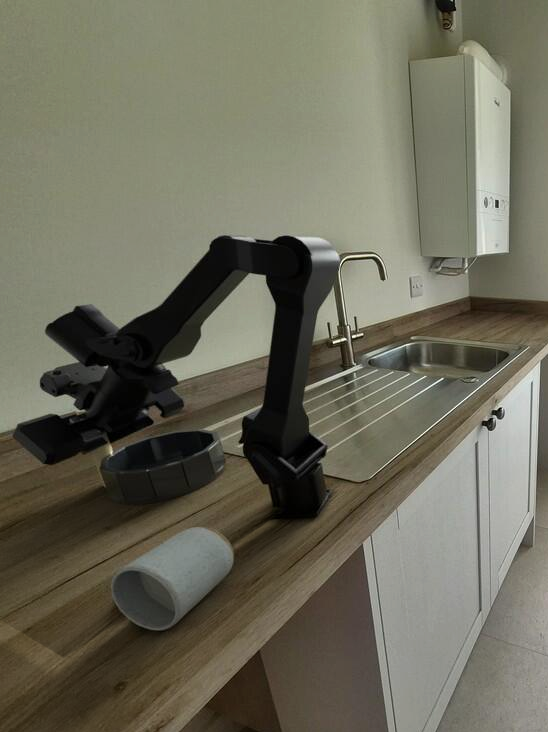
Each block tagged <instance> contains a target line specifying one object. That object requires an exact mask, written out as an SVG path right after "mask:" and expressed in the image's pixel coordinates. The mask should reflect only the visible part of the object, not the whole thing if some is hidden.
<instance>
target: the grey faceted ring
mask: <svg viewBox="0 0 548 732" xmlns="http://www.w3.org/2000/svg"><path fill="white" fill-rule="evenodd" d="M83 413H86V411H85V410H81V411H80V410H78V409H76V410H75V414H77V415H80V414H83ZM219 435H220V434H219V433H218V432H217V431H213V430H208V429H203V428H202V429H201V428H197V429H183V430H175V431H170V432H165V433H161V434H155V435H151V436H148V437H145V438H142V439H140V440H136V441H133V442H131V443H129V444H125V445H123V446H120V447H118V448H117V449H115V450H114V449H113V447H112V443H110V440H109V438H108V435H107V432H106V430H105V434H104V435H103V436H102V437H103V438H104V439H105V440H106V441H107V442H108V443H107V444H105V445H104V446H101V447H100V448H98V449H96V450H94V451H92V452H90V455H91V457H92V460H93V462H94V465H95V467H96V470H97V473H98V476H99V479H100V481H101V483H102V486H103V487H104V488H105V489H106V491H107V494H108V496H110V497H111V499H112V500H113V501H114V502H115V503H118V504H121V505H129V506H138V505H139V506H140V505H149V504H154V503H159V502H164V501H169V500H171V499H175V498H178V497H183V496H185V495H187V494H190V493H192V492H194V491H197V490H199V489H201V488H204V487H205V486H207V485H209V484H210V483H212V482H213V481H215V480H217V478H219V477H220V476H221V475H222V474H223V473H224V472H225V470H226V469H227V460H226V455H225V452H224V449H223V446H222V441H221V438H220V436H219Z"/></svg>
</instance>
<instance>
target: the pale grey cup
mask: <svg viewBox="0 0 548 732" xmlns="http://www.w3.org/2000/svg"><path fill="white" fill-rule="evenodd" d="M233 549H234V548H233V546H232V544H231V543H230V541H229V540H228V538H227V537H226V536H224V534H222V533H221V532H219V531H218V530H216V529H215V528H211V527H209V526H204V525H198V526H193V527H190V528H187V529H184V530H183V531H180V532H178V533H176V534H175V535H173V536H171V537H170V538H168V539H167V540H166V541H164V542H162V543H161V544H159V545H158V546H157V545H156V547H154V548H152V549H151V550H149V551H148V552H146V553H144V554H142V555H141V556H139V557H138V558H136V559H134V560H133V561H131V562H129V563H128V564H126V565H125V566H123V567H121V568H120V569H118V571H117V572H116V573H115V574H114V575H113V576H112V578H111V581H110V593H111V598H112V599H113V602H114V603H115V605H116V606H117V608H118V610H119V611H120V612H121V613H122V614H123V615H124V616H125V617H126V618H127V619H128V620H129V621H130V622H132V623H134V624H135V625H137V626H139V627H141V628H144V629H147V630H150V631H160V632H161V631H165V630H168V629H171V628H172V627H173V626H175V625H176V624H177V623H178V622H179V621H181V620H182V618H183V617H184V616H186V614H188V613H189V612H190V611H191V610H192V609H193V608H194V607H195V606H196V605H197V604H199V602H201V600H203V598H204V597H206V596H207V595H208V594H209V593H210V592H211V591H212V590H213V589H215V588H216V586H218V585H219V584H220V583H221V582H222V581H223V580H224V579H225V578H226V576H227V575H228V574H229V573H230V571H231V569H232V567H233V566H234V563H235V552H234V550H233Z"/></svg>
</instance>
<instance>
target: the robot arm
mask: <svg viewBox="0 0 548 732" xmlns="http://www.w3.org/2000/svg"><path fill="white" fill-rule="evenodd" d="M208 248H209V249H208V250H207V251H206V252H205V253H204V255H203V256H202V257H201V258H200V259H199V261H197V263H196V264H195V265H194V266H193V267H192V269H190V271H189V272H188V273H187V274H185V276H184V277H183V279H182V280H181V281H180V282H179V283H178V284H177V285H176V287H175V288H174V289H173V290H172V291H171V292H170V293H169V294H168V296H167V297H166V298H165V299H164V300H163V301H162V302H161V304H159V305H158V306H157V307H155V308H153V309H151V310H149V311H147V312H144V313H143V314H140V315H138V316H136V317H135V318H133V319H131V320H129V322H127V323H126V324H124V325H123V326H122V327H120V328H119V327H118V326H117V325H116V324H115V323H114V322H113V321H111V320H110V319H109V318H108V317H106V315H104V314H103V313H102V311H101V310H100V309H99V308H97V307H96V306H95V305H94V304H89V303H88V304H82V305H75V307H74V308H73V310H72V311H70V312H69V311H68V312H67V313H64V314H63V315H61V316H59V317H58V318H56V319H55V320H53V321H52V322H49V323H48V324H47V325H46V326H45V329H44V334H45V335H46V336H47V337H48V338H49V339H51V341H53V342H54V343H56V344H57V345H58V346H59V347H60V348H62V349H63V351H65V352H66V353H68V354H69V355H70V356H72V357H73V358H74V359H75V360H76V361H77V362H74V363H69V364H65V365H60V366H57V367H55V368H54V369H52V370H47V371H45V372H43V374H42V375H41V377H40V378H39V387H40V389H41V391H43V392H44V393H46V394H48V395H50V396H52V397H54V398H57V397H58V398H59V397H62V396H64V395H66V396H69V397H71V398H72V399H74V402H73V407H75V408H76V410H80V411H81V410H85V411H86V413H83V414H80V415H77V414H76V413H74V414H71V415H67V416H65V417H61V416H60V415H58V414H57V413H56V414H55V413H48V414H44V415H42V416H39V417H35V418H32V419H29V420H25V421H23V422H20V423H17V425H16V427H15V430H14V431H13V434H12V435H11V437H12V439H14V440H15V442H17V443H19V445H20V446H22V447H23V448H24V449H25V450H26V451H28V452H29V454H31V455H32V456H33V457H35V458H36V459H37V461H39V462H40V463H41V464H43V465H47V466H53V465H56V464H59V463H61V462H63V461H64V462H65V461H66V460H69V459H71V458H73V457H76V456H78V455H79V454H82V455H83V456H86V455H88V454H91V452H92V451H94V450H96V449H98V448H100V447H101V446H104V445H105V444H107V443H108V442H107V441H106V440H105V439H104V438H103V437H102V436H103V435H104V434H105V430H106V432H107V435H108V438H109V440H110V443H111V444H113V443H116V442H118V441H120V440H122V439H125V438H126V437H128V436H131V435H133V434H135V433H138V432H140V431H142V430H144V429H146V428H149V427H151V426H153V425H154V424H155V421H154V419H153V418H151V416H149V415H150V412H149V411H150V408H152V407H154V406H155V407H156V408H157V409H158V410H159V411H160V414H159V416H160V417H161V418H162V419H168V418H170V417H174V416H175V415H178V414H180V413H181V412H182V410H183V409H184V408H185V400H184V398H182V396H180V394H179V393H177V392H176V391H175V390H174V387H177V386H179V381H178V379H177V377H176V376H175V375H173V373H172V370H170V369H167V368H166V366H165V365H164V364H166V363H169V362H174V361H176V360H180V359H183V358H186V357H188V356H190V355H191V354H192V353H193V351H194V349H195V348H196V346H197V345H198V343H199V341H200V339H201V338H202V326H203V325H204V323H205V321H207V320H208V319H209V317H210V316H211V315H212V313H214V312H215V311H216V310H217V308H219V306H220V305H222V303H223V302H224V301H225V300H226V299H227V298H228V297H229V296H230V295H231V294H232V293H233V292H234V290H235V289H236V288H237V287H238V286H239V285H240V284H241V283H242V282H243V281H244V280H245V279H246V278H247V277H248V275H250V274H252V275H258V276H265V284H266V287H267V288H268V291H269V293H270V295H271V297H272V299H273V300H272V301H273V302H274V316H273V322H272V323H273V324H272V330H271V331H272V332H271V337H270V338H271V340H270V347H269V355H268V363H267V370H266V377H265V385H264V393H263V400H262V405H261V407H259V408H257V409H255V410H253V411H251V412H249V413H248V414H246V415H245V416H243V417H242V421H241V436H240V439H239V440H238V442H237V443H238V444H239V445H241V444H242V453H243V457H244V458H245V459H247V461H248V463H249V465H250V466H251V468H252V469H253V471H254V473H255V474H256V476H257V477H258V479H259V480H260V482H261V484H262V485H267V486H268V491H269V496H270V501H271V504H272V507H275V508H281V509H282V511H280V512H279V513H277V514H276V515H274V516H273V517H272V518H271V519H272V520H281V519H282V520H284V519H305V518H306V519H307V518H316V517H318V516H319V515H320V513H321V511H322V510H323V508H324V506H326V503H327V502H328V500H329V498H330V496H332V489H327V487H326V486H327V485H326V480H325V474H324V468H323V463H322V462H320V461H321V460H322V459H324V458H325V457H326V456H327V452H328V446H329V445H328V444H327V443H326V442H324V441H323V440H322V439H321V438H320V437H319V436H317V435H316V434H315V433H313V431H311V430H310V418H309V416H308V414H307V411H306V410H305V408H304V397H305V393H306V392H305V391H306V385H307V380H308V373H309V368H310V361H311V355H312V349H313V343H314V338H315V331H316V325H317V318H318V314H319V311H320V308H321V307H322V306H323V304H324V303H325V301H326V299H327V298H328V296H329V295H330V294H331V292H332V290H333V288H334V285H335V281H336V279H337V276H338V274H339V271H340V266H341V260H340V255H339V254H338V253H337V251H336V249H335V248H334V246H333V245H332V244H331V243H330V241H328V240H326V239H324V238H322V237H318V236H311V235H279V236H277V237H275V238H274V239H273V240H271V239H259V238H253V237H251V236H247V235H227V234H226V235H225V234H224V235H219V236H217V237H215V238H214V239H213V240H211V242H210V244H209V247H208Z"/></svg>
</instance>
